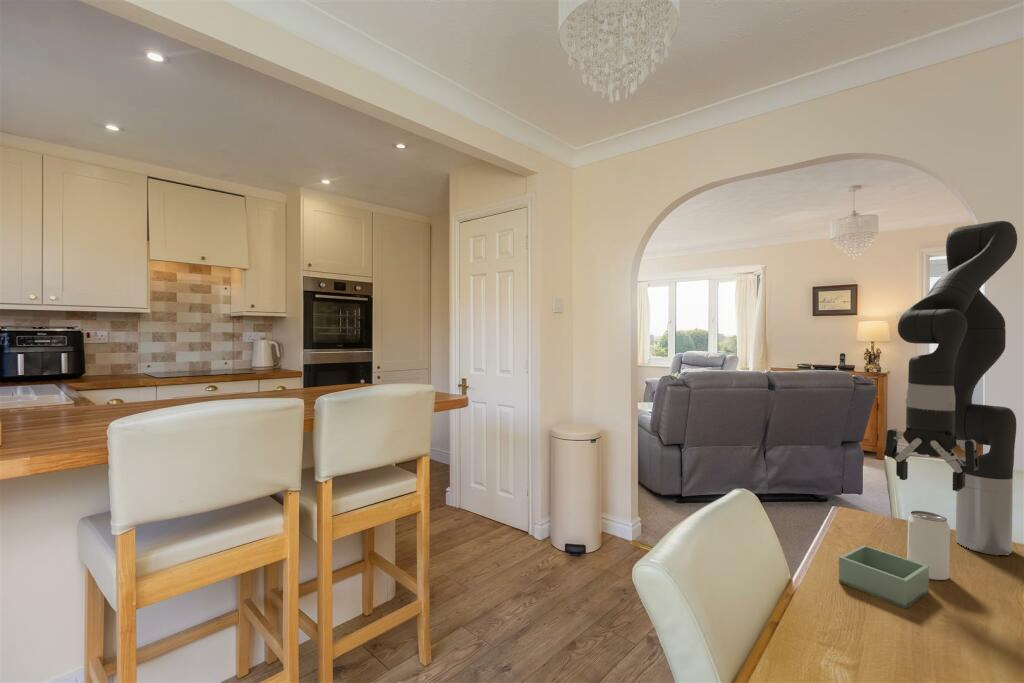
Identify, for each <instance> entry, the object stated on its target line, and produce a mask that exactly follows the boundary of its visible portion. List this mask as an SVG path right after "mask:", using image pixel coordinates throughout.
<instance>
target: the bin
mask: <svg viewBox="0 0 1024 683" xmlns="http://www.w3.org/2000/svg"><path fill="white" fill-rule="evenodd" d="M838 565H839V566H838V582H839V581H840V582H842V583H844V584H843V585H845V584H846V585H845V586H847V585H848V587H850V588H853V589H855V590H859V591H860V592H862V593H865V594H867V593H868V595H871V596H873V597H875V596H876V597H875V598H878V599H880V598H881V599H880V600H882V601H885V600H886V601H885V602H887V603H890V604H893V605H896V606H898V607H900V608H903V609H908V608H909V607H911V606H912V605H913V604H914V603H916V602H917V601H919V600H920V599H921V598H923V597H924V596H926V595H927V594H928V593H929V591H930V590H929V588H930V579H929V566H927V565H924V564H921V563H918V562H915V561H912V560H909V559H907V558H905V557H902V556H899V555H896V554H893V553H890V552H886V551H884V550H880V549H878V548H874V547H871V546H868V545H864V544H862V545H860V546H858V547H856V548H855V549H854V548H853V550H850V551H848V552H846V553H844V554H843V555H840V556H838ZM840 582H839V583H840ZM842 583H841V584H842Z"/></svg>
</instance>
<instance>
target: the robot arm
mask: <svg viewBox="0 0 1024 683" xmlns="http://www.w3.org/2000/svg"><path fill="white" fill-rule="evenodd" d="M945 243H946V244H945V252H946V265H947V272H946V273H944V274H943V275H942V276H941V277H940V278H939V279H938V280H937V281H936V282H935V283H934V284H933V286H932V287H931V289H930V290H929V292H928V293H927V295H926V296H925V297H923V298H921V299H920V300H919V301H918V302H915V303H914V304H913V305H912V306H910V307H909V308H908V309H906V310H905V311H904V312H903V314H902V315H901V316H900V318H899V320H898V323H897V332H898V335H899V337H900V338H901V339H902V340H903V341H905V342H907V343H909V344H910V343H911V344H917V345H918V344H921V345H922V344H924V345H925V344H927V345H928V344H932V345H936V344H938V345H937V347H936V349H935V350H934V351H933V352H932V353H928V354H919V355H913V356H912V357H911V358H910V359H909V360H908V374H907V376H908V379H907V380H908V381H907V383H908V385H907V391H906V399H905V405H906V406H905V407H906V408H905V411H906V413H905V415H906V416H905V425H906V426H905V431H903V430H898V429H897V428H892V429H888V430H887V432H886V439H885V441H886V442H885V443H886V444H885V456H886V457H887V458H891V459H893V460H894V461H895V463H896V465H895V467H896V468H895V470H896V471H895V472H896V476H897V477H899V478H898V479H899V480H901V481H906V480H908V477H909V476H908V474H909V472H908V471H909V470H908V467H909V466H908V465H909V463H908V461H907V460H908V459H909V458H910V457H911V456H912V455H914V454H916V453H917V454H918V455H922V456H930V457H933V458H942V459H943V460H944V462H946V463H947V464H948V465H949V466H950V467H951V468H952V469H953V472H952V491H953V492H956V496H955V498H956V500H955V501H956V504H955V505H956V507H955V508H956V509H955V511H956V512H955V542H956V543H957V544H958V543H959V544H958V545H960V546H961V545H962V546H961V547H963V546H964V548H966V547H967V548H966V549H968V548H969V550H971V551H975V552H978V553H983V554H988V555H993V556H999V555H1006V554H1011V553H1013V552H1012V551H1013V549H1012V547H1013V507H1014V506H1013V502H1014V500H1013V497H1014V496H1013V494H1014V491H1013V487H1014V486H1013V483H1014V480H1013V478H1014V462H1015V448H1016V445H1015V444H1016V437H1017V425H1018V424H1017V417H1016V415H1015V412H1014V411H1013V410H1012V409H1011V408H1009V407H1006V406H998V405H987V404H979V403H977V404H976V403H973V401H972V400H973V394H974V390H975V388H976V387H977V384H978V383H979V382H980V380H981V379H982V377H983V376H984V375H985V374H986V373H987V372H988V371H989V370H990V369H991V368H992V367H993V366H994V365H995V363H996V362H998V360H999V359H1000V358H1001V356H1003V354H1004V352H1005V349H1006V345H1007V344H1006V339H1007V338H1006V337H1007V336H1006V320H1005V318H1004V315H1003V314H1002V313H1001V312H1000V311H999V309H998V308H997V307H996V305H994V304H993V302H991V301H990V300H989V299H988V298H987V297H986V296H985V294H984V293H983V292H982V291H981V288H982V287H983V285H984V284H986V282H987V281H988V280H989V279H991V277H993V276H994V275H995V274H996V273H997V272H998V271H999V270H1000V269H1001V268H1002V267H1003V266H1005V264H1007V262H1008V261H1009V260H1010V259H1011V258H1012V257H1013V255H1014V253H1015V252H1016V249H1017V246H1018V233H1017V230H1016V227H1015V226H1014V225H1013V223H1011V222H1010V221H1008V220H1007V221H1006V220H997V221H989V222H983V223H982V222H981V223H977V224H969V225H964V226H959V227H958V226H957V227H954V228H953V229H951V230H950V231H949V232H948V234H947V237H946V241H945ZM902 437H903V439H904V440H905V441H906V442H907V444H908V445H907V446H906V447H905V448H904V449H902V450H901V451H900V453H899V452H898V444H899V442H898V441H900V440H901V439H902ZM978 445H984V446H989V451H988V452H986V453H983V454H980V455H979V453H978V452H979V451H978V449H979V448H978ZM957 446H959V447H960V449H961V450H962V451H964V454H965V455H964V456H962V457H958V455H957V454H956V453H955V452H954V450H953V449H954V448H955V447H957ZM1011 555H1012V554H1011Z"/></svg>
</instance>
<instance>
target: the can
mask: <svg viewBox="0 0 1024 683" xmlns="http://www.w3.org/2000/svg"><path fill="white" fill-rule="evenodd" d="M947 521H948V519H947V517H945V516H943V515H941V514H938V513H934V512H931V511H926V510H925V511H924V510H912V511H911V512H910V515H909V517H908V519H907V549H906V550H907V558H906V559H909V560H912V561H915V562H918V563H921V564H924V565H927V566H929V580H932V581H937V580H944V581H947V580H948V579H949V578H950V546H951V545H950V544H951V543H950V540H951V537H950V536H951V535H950V534H951V531H950V530H951V529H950V525H949V523H948V522H947Z"/></svg>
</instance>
